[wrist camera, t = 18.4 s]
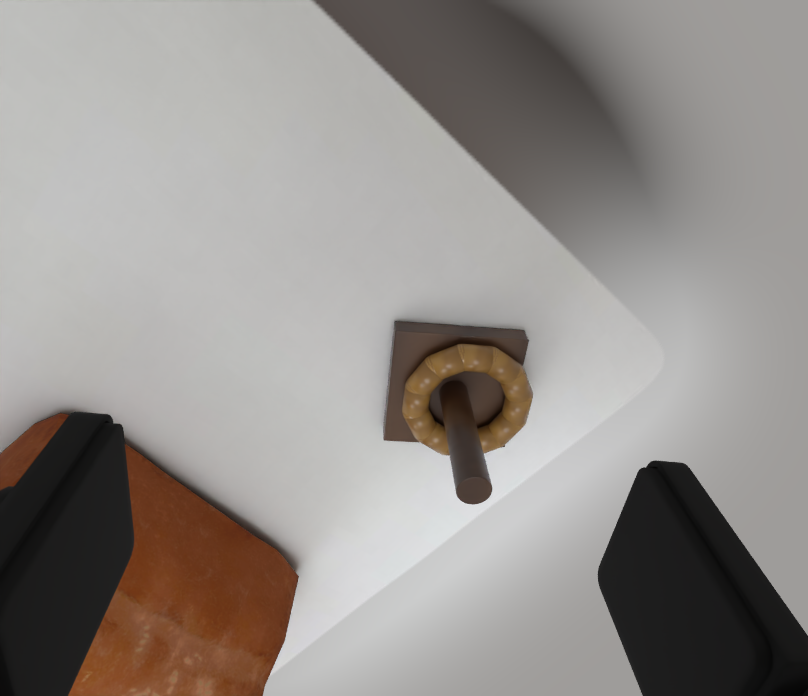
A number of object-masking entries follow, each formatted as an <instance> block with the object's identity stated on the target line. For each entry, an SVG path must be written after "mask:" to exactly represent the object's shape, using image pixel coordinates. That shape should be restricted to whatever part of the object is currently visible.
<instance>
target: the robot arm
mask: <svg viewBox="0 0 808 696" xmlns="http://www.w3.org/2000/svg"><path fill="white" fill-rule="evenodd" d="M133 547H134V528H133V518H132V509H131V499H130V489H129V479H128V470H127V460H126V450H125V440H124V431H123V427H122V425H121V424H113V419H112V417H111V416H110V415H108V414H96V413H84V412H73V413H71V414H70V415H69V416H68V417H67V419H66V420H65V421H64V423H63V424H62V425H61V426H60V428H59V429H58V430H57V432H56V433H55V434H54V435H53V437H52V438H51V439H50V441H49V442H48V443H47V445H46V446H45V447H44V448H43V450H42V451H41V452H40V454H39V455H38V456H37V457H36V459H35V460H34V461H33V463H32V464H31V465H30V467H29V468H28V469H27V470H26V472H25V473H24V474H23V476H22V477H21V478H20V479H19V481H18V482H17V483H16V485H15V486H8V487H6V488H4V489H2V490H1V491H0V696H68V695H69V693H70V690H71V688H72V686H73V684H74V682H75V679H76V677H77V675H78V673H79V671H80V668H81V666H82V664H83V662H84V660H85V657H86V655H87V653H88V651H89V649H90V646H91V644H92V642H93V640H94V638H95V635H96V633H97V631H98V629H99V626H100V624H101V622H102V620H103V618H104V615H105V613H106V611H107V609H108V607H109V604H110V602H111V600H112V598H113V596H114V593H115V591H116V589H117V587H118V585H119V582H120V580H121V578H122V576H123V574H124V571H125V569H126V567H127V565H128V563H129V560H130V558H131V555H132V551H133ZM598 582H599V586H600V589H601V592H602V594H603V597H604V599H605V602H606V604H607V607H608V609H609V612H610V614H611V617H612V619H613V622H614V624H615V627H616V629H617V632H618V635H619V637H620V640H621V642H622V645H623V647H624V649H625V652H626V655H627V657H628V660H629V662H630V665H631V667H632V670H633V672H634V675H635V677H636V680H637V682H638V685H639V687H640V690H641V692H642V695H643V696H808V636H807V634H806V633H805V631H804V630H803V628H802V627H801V626H800V624H799V623H798V621H797V620H796V619H795V617H794V616H793V614H792V613H791V611H790V610H789V609H788V607H787V606H786V604H785V603H784V602H783V600H782V599H781V598H780V596H779V594H778V593H777V592H776V590H775V589H774V587H773V586H772V585H771V583H770V582H769V580H768V579H767V577H766V576H765V575H764V573H763V572H762V570H761V569H760V567H759V566H758V565H757V563H756V562H755V560H754V559H753V558H752V556H751V555H750V554H749V552H748V551H747V549H746V548H745V546H744V545H743V544H742V542H741V541H740V539H739V538H738V536H737V535H736V533H735V532H734V531H733V529H732V528H731V526H730V525H729V523H728V522H727V521H726V519H725V518H724V516H723V515H722V514H721V512H720V511H719V509H718V508H717V506H716V505H715V504H714V502H713V501H712V499H711V498H710V497H709V495H708V494H707V492H706V491H705V489H704V488H703V487H702V485H701V484H700V482H699V481H698V480H697V478H696V477H695V475H694V474H693V472H692V471H691V470H690V468H689V467H688V466H687V465H686V464H683V463H677V462H666V461H652V462H650V463H649V464H648V466H647V467H646V468H641V469H640V470H639V471H638V473H637V476H636V478H635V480H634V483H633V485H632V488H631V490H630V493H629V495H628V497H627V500H626V503H625V505H624V507H623V510H622V512H621V514H620V517H619V519H618V522H617V524H616V527H615V529H614V531H613V534H612V536H611V539H610V541H609V544H608V546H607V548H606V551H605V553H604V556H603V558H602V561H601V563H600V566H599V570H598Z"/></svg>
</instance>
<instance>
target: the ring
mask: <svg viewBox="0 0 808 696" xmlns="http://www.w3.org/2000/svg"><path fill="white" fill-rule="evenodd" d="M463 371H468V372H480V373H486V374H488V375H489V376H491V377H492V378H494V379H495V380H497V381H498V382H500V384H501V386H502V389H503V391H504V393H505V400H504V405H503V409H502V411H501V412H500V413H499V415H498V416H497V417H496V418H495V419H494V420H493V421H492V422H491V423H490V424H488V425H486V426H483V427H480V428H477V430H478V434H479V437H480V441H481V445H482V449H483V453H486V452H489V451H492V450H495V449H498V448H500V447H503V446H504V445H505V444H506V443H507V442H508V441H509V440H510V439H511V438H512V437H513V436H514V435H515V434H516V433H517V432H518V431H519V430H520V429H521V428H522V427H523V426H524V425H525V424H526V421H527V418H528V414H529V410H530V406H531V402H532V398H533V392H532V389H531V387H530V384H529V381H528V379H527V376H526V374H525V371H524V369H523V367H522V365H521V364H520V363H518V362H517V361H515V360H514V359H512V358H511V357H510V356H508V355H507V354H505V353H504V352H502V351H501V350H499V349H498V348H496V347H493V346H484V345H472V344H457V345H455V346H452V347H450V348H447V349H444V350H442V351H439V352H437V353H434V354H432V355H430V356H428V357H427V358H426V359H425V360H424V361H423V362H422V363H421V364H420V365H419V367H418V368H417V369H416V370H415V371H414V372H413V374H412V375H411V376H410V377H409V378H408V379H407V381H406V384H405V390H404V397H403V405H402V414H403V417H404V418H405V420H406V422H407V424H408V426H409V428H410V430H411V432H412V434H413V435H414V437H415V439H416V440H418V441H419V442H421V443H422V444H424V445H426V446H428V447H429V448H431V449H433V450H435V451H436V452H438V453H440V454H442V455H450V454H449V449H448V443H447V437H446V431H445V427H444V426H442V425H441V424H439V423H437V422H436V421H435V420H434V418H433V416H432V414H431V412H430V410H429V402H430V396H431V393H432V391H433V390H434V389H435V388H436V387H437V386H438V385H439V384H440V383H441V381H442V380H443V379H445V378H448V377H450V376H453V375H455V374H458V373H461V372H463Z"/></svg>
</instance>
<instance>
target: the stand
mask: <svg viewBox="0 0 808 696" xmlns="http://www.w3.org/2000/svg"><path fill="white" fill-rule="evenodd" d="M528 341H529V340H528V338H527V336H526V334H525V332H524V331H523V330H510V329H496V328H483V327H469V326H455V325H442V324H428V323H414V322H400V321H395V322H394V332H393V341H392V351H391V360H390V370H389V379H388V389H387V398H386V408H385V417H384V427H383V435H384V440H387V441H405V442H419V441H418V440H416V439H415V437H414V435H413V434H412V432H411V430H410V428H409V426H408V424H407V422H406V420H405V418H404V417H403V414H402V405H403V397H404V390H405V384H406V381H407V379H408V378H409V377H410V376H411V375H412V374H413V372H414V371H415V370H416V369H417V368H418V367H419V365H420V364H421V363H422V362H423V361H424V360H425V359H426V358H427V357H428V356H430V355H432V354H434V353H437V352H439V351H442V350H444V349H447V348H450V347H452V346H455V345H457V344H472V345H484V346H493V347H496V348H498V349H499V350H501V351H502V352H504V353H505V354H507V355H508V356H510V357H511V358H512V359H514V360H515V361H517V362H518V363H520V364H521V365H522V367H523V363H524V359H525V355H526V350H527V346H528ZM504 400H505V393H504V391H503V389H502V386H501V384H500V382H498V381H497V380H495V379H494V378H492V377H491V376H489V375H488V374H486V373H480V372H468V371H463V372H461V373H458V374H455V375H453V376H450V377H448V378H445V379H443V380H442V381H441V383H440V384H439V385H438V386H437V387H436V388H435V389H434V390H433V391H432V393H431V396H430V402H429V410H430V412H431V414H432V416H433V418H434V420H435V421H436V422H437V423H439V424H441V425H442V426H444V427H445V431H446V437H447V443H448V449H449V454H450V460H451V466H452V472H453V477H454V483H455V489H456V494H457V497H458V498H459V499H460V500H461V501H462V502H464V503H467V504H478V503H481V502H483V501H485V500H487V499H488V498H489V496H490V495H491V492H492V485H491V481H490V477H489V473H488V469H487V465H486V461H485V457H484V453H483V449H482V445H481V441H480V437H479V434H478V430H477V428H480V427H483V426H486V425H488V424H490V423H491V422H492V421H493V420H494V419H495V418H496V417H497V416H498V415H499V413H500V412H501V411H502V409H503V405H504ZM503 447H505V445H504V446H503Z"/></svg>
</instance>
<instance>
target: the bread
mask: <svg viewBox="0 0 808 696" xmlns="http://www.w3.org/2000/svg"><path fill="white" fill-rule="evenodd" d="M68 416H69V415H67V414H62V413H59V414H57V415H55V416H52V417H50V418H47V419H45V420H43V421H40V422H38V423H35V424H34V425H33V426H31V427H30V428H29V429H28V430H27V431H26V432H25V433H23V434H22V435H21V436H20V437H19V438H18V439H17V440H15V441H14V442H13V443H12V444H11V445H10V446H9V447H7V448H6V449H5V450H4V451H3V452H2V453H1V454H0V491H1V490H2V489H4V488H6V487H8V486H15V485H16V483H17V482H18V481H19V479H20V478H21V477H22V476H23V474H24V473H25V472H26V470H27V469H28V468H29V467H30V465H31V464H32V463H33V461H34V460H35V459H36V457H37V456H38V455H39V454H40V452H41V451H42V450H43V448H44V447H45V446H46V445H47V443H48V442H49V441H50V439H51V438H52V437H53V435H54V434H55V433H56V432H57V430H58V429H59V428H60V426H61V425H62V424H63V423H64V421H65V420H66V419H67V417H68ZM125 450H126V460H127V470H128V479H129V489H130V499H131V509H132V518H133V528H134V547H133V551H132V555H131V558H130V560H129V563H128V565H127V567H126V569H125V571H124V574H123V576H122V578H121V580H120V582H119V585H118V587H117V589H116V591H115V593H114V596H113V598H112V600H111V602H110V604H109V607H108V609H107V611H106V613H105V615H104V618H103V620H102V622H101V624H100V626H99V629H98V631H97V633H96V635H95V638H94V640H93V642H92V644H91V646H90V649H89V651H88V653H87V655H86V657H85V660H84V662H83V664H82V666H81V668H80V671H79V673H78V675H77V677H76V679H75V682H74V684H73V686H72V688H71V690H70V693H69V695H68V696H263V691H264V687H265V684H266V682H267V680H268V677H269V675H270V673H271V670H272V668H273V666H274V664H275V661H276V659H277V657H278V654H279V652H280V650H281V648H282V645H283V643H284V641H285V637H286V632H287V628H288V623H289V619H290V614H291V609H292V605H293V600H294V596H295V591H296V587H297V582H298V578H299V576H298V575H297V574H296V572H295V571H294V570H293V568H292V567H291V566H290V564H289V563H288V562H287V561H286V560H285V559H284V557H283V556H282V555H281V554H280V553H279V552H278V550H276V549H275V548H273V547H272V546H270V545H268V544H267V543H265V542H264V541H262V540H260V539H259V538H257V537H256V536H254V535H253V534H251V533H250V532H248V531H247V530H245V529H244V528H243V527H241V526H240V525H238V524H237V523H236V522H234V521H233V520H231V519H230V518H228V517H227V516H226V515H224V514H223V513H221V512H220V511H218V510H217V509H216V508H214V507H213V506H211V505H210V504H209V503H207V502H206V501H204V500H203V499H202V498H200V497H199V496H197V495H196V494H194V493H193V492H192V491H190V490H189V489H187V488H186V487H185V486H183V485H182V484H180V483H179V482H178V481H176V480H175V479H173V478H172V477H170V476H169V475H168V474H166V473H165V472H163V471H162V470H161V469H159V468H158V467H157V466H155V465H154V464H153V463H151V462H150V461H149V460H147V459H146V458H145V457H144V456H142V455H141V454H140V453H138V452H137V451H135V450H134V449H132V448H131V447H129V446H128V445H126V444H125Z"/></svg>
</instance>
